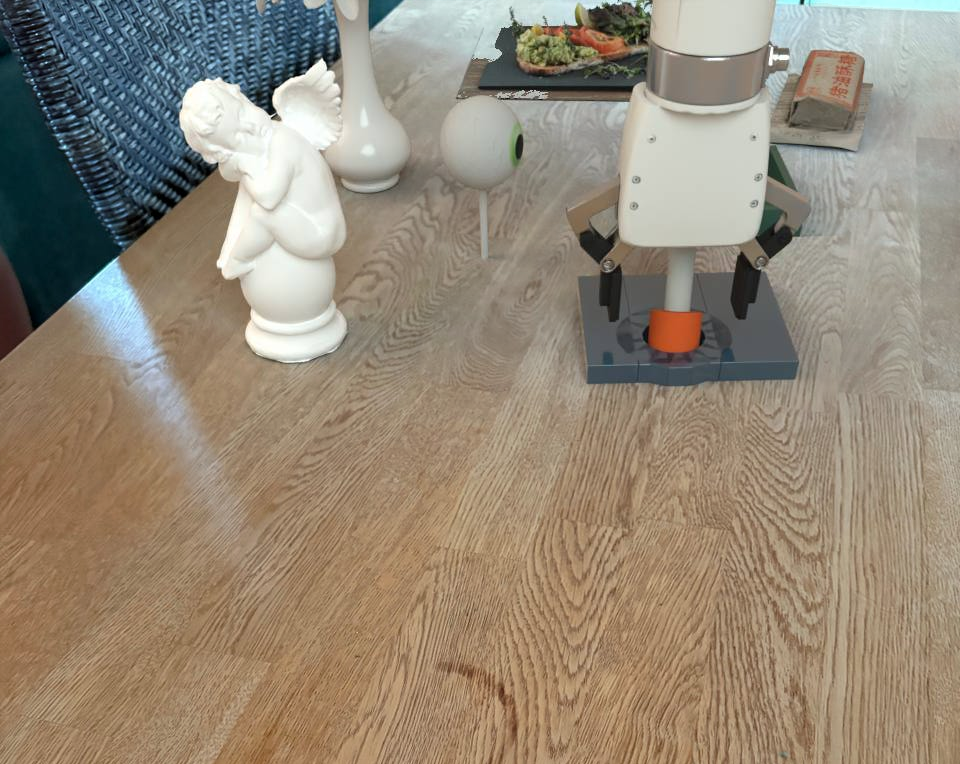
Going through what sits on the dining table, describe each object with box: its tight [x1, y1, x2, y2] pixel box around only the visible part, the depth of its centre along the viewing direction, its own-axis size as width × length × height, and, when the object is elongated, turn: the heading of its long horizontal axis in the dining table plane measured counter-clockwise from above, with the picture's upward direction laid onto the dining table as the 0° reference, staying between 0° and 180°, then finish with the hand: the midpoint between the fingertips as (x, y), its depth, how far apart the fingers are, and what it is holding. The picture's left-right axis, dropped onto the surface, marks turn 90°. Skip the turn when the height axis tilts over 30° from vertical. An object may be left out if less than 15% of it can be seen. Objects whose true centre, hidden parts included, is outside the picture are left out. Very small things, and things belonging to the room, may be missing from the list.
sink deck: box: [576, 270, 800, 387], centre depth 83 cm, size 16×15×3 cm
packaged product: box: [770, 49, 874, 152], centre depth 114 cm, size 18×5×10 cm
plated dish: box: [455, 0, 653, 102], centre depth 129 cm, size 35×28×7 cm
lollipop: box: [438, 95, 525, 260], centre depth 89 cm, size 7×7×15 cm
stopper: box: [647, 247, 703, 353], centre depth 79 cm, size 4×4×9 cm
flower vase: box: [254, 0, 413, 194], centre depth 99 cm, size 13×18×25 cm
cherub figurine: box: [178, 57, 349, 364], centre depth 80 cm, size 12×12×22 cm
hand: (674, 311), depth 78 cm, fingers open, 9 cm apart
